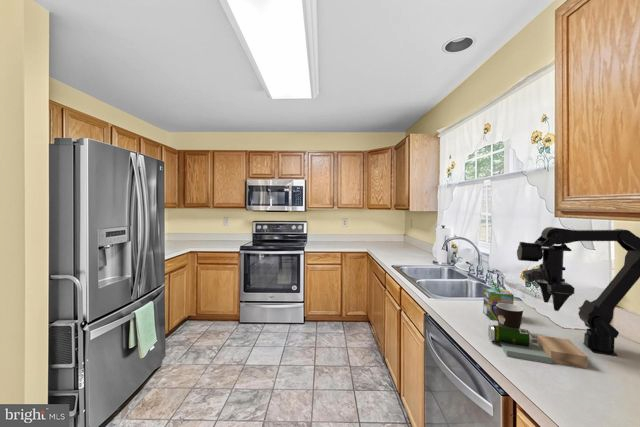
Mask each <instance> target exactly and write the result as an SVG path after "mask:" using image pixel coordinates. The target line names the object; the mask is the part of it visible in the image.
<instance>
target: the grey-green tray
mask: <svg viewBox="0 0 640 427" xmlns="http://www.w3.org/2000/svg"><path fill="white" fill-rule="evenodd" d="M498 343H499V344H500V347H501V348H502V349H503V352H504V354H505V357H510V358H516V359H521V360H527V361H528V360H529V361H535V362H538V363H539V362H540V363H546V364H553V362H552V357H551V356H547V355H546V354H545V353H544V351H543V350H542V349H541V348H540V346H539V345H538V344H537V338H536V337H534V338H533V337H532V344H531V346H523V345H517V344H510V343H504V342H498Z"/></svg>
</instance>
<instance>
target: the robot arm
mask: <svg viewBox="0 0 640 427" xmlns="http://www.w3.org/2000/svg"><path fill="white" fill-rule="evenodd" d="M540 234H541V235H540V236H539V237H538V238H537V239H536V240H535V241H534V242H525V241H519V244H518V246H517V250H516V256H517V257H516V258H517V259H518V261H521V262H522V261H524V262H534V263H535V262H539V261H541V260H542V263H540V264H539V266H538V267H537V268H531V269H527V270H523V271H522V274H523V277H524V279H525V281H526V282H528V283H533V282H534V283H535V284H536V285H538V287H539V288H540V292H541V295H542V299H543V302H544V303H547V304H548V303H549V301H550V300H551V298H552V305H553V310H554V311H555V312H559V311H560V309H561V308H562V306H563V305H564V304H565V303H566V302H567V300H568V299H569V298H570V296H572V295H575V287H574V286H573V285H572V284H570V283H568V282H566V279H565V278H564V277H563V276H564V274H563V272H564V271H566V267H565V266H564V252H573V250H572V249H571V248H570V247H568V245H567V244H572V243H575V242H617V243H618V244H619V246H620V247H621V248H622V249H623V250H625V251H626V254H625V256H624V261H623V262H624V264H623V266H622V267H621V268H620V270H618V272H617V274H616V275H615V276H614V277H613V279H611V281H610V282H609V284H608V285H606V287H605V288H604V289H603V291H602V292H601V293H600V294H599V296H598V297H597V298H596V299H594V300H593V301H590V300H588V299H585V300H584V302H583V303H582V305H581V306H580V307H578V310H579V311H578V314H577V315H578V317H579V319H580V320H581V321H582V322H583V323H584V326H585V327H587V328H586V332H585V333H583V334H584V336H583V337H584V338H583V345H584V347H586V348H587V349H588V350H590V351H591V352H593V353H598V354H603V355H604V354H606V355H610V356H611V355H612V356H618V354H617V352H615V339H617V338H618V336H619V334H620V332H619V331H618V330H617V329H616V328H615V327H614V326H613V325H612V324H611V323H612V320H613V319H614V310H615V308H616V307H617V306H618V305H619V304H620V302H621V301H622V300H623V299H624V297H625V296H626V295H627V294H628V292H630V290H631V289H632V288H633V286H634V285H635V284H636V283H637V281H638V280H640V237H639V236H637V235H636V234H634V233H633V232H631V231H630V230H628V229H623V228H616V229H570V228H569V229H567V228H561V227H554V226H549V227H545V228H544V229H543V230H542V231H541V233H540Z"/></svg>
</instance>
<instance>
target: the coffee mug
mask: <svg viewBox="0 0 640 427" xmlns="http://www.w3.org/2000/svg"><path fill="white" fill-rule="evenodd" d="M494 306H496V307H497V315H496V314H495V312H494V310H493V308H494ZM492 311H493V313H494V315H495V316H496V318H497V319H498V320H497V326H504V327H512V328H519V329H521V326H522V320H523V319H522V318H523V312H524V308H523V307H521V306H519V305H516V304H513V305H512V304H506V303H499V304H496V305H492Z"/></svg>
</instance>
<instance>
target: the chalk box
mask: <svg viewBox="0 0 640 427" xmlns="http://www.w3.org/2000/svg"><path fill="white" fill-rule="evenodd" d="M493 286H494V287H493V288H492V287H491V288H490V287H488V288H487V287H484V288H483V306H482V307H483V308H482V309H483V310H482V311H483V312H482V313H484V315H486V317H487V318H488V319H489V320H492V321H498V319H497V318H496V316H495V315H494V313H493V311H492V305H496V304H499V303H506V304H512V305H514V302H515V300H514V298H515V297H514V294H513V293H511V292H510V291H509V290H507V289H505V288H500V285H499V284H498V283H497V282H495V281H494V282H493ZM493 310H494V312H495V314H496V315H497V307H496V306H494V308H493Z"/></svg>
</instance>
